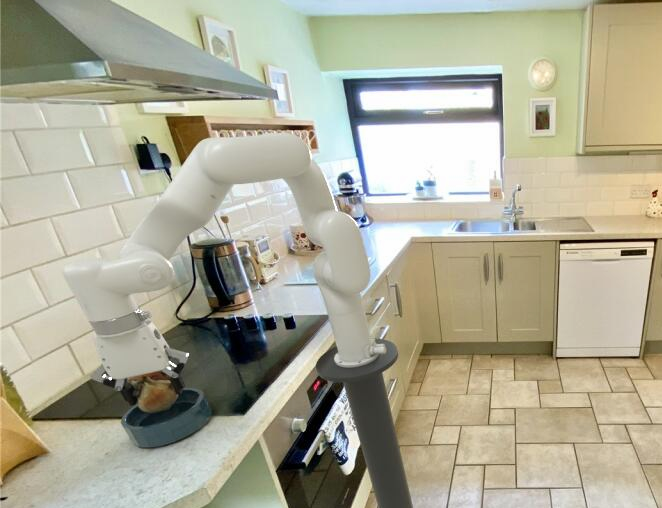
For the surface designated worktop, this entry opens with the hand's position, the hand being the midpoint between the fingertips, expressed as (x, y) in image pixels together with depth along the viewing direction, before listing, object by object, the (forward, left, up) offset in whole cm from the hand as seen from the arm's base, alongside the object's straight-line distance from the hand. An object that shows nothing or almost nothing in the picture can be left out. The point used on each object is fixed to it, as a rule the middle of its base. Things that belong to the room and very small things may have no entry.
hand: (158, 396), depth 90 cm
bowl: (0, 0, -8) cm, 8 cm away
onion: (0, 0, -3) cm, 3 cm away
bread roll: (+22, -19, -9) cm, 30 cm away
